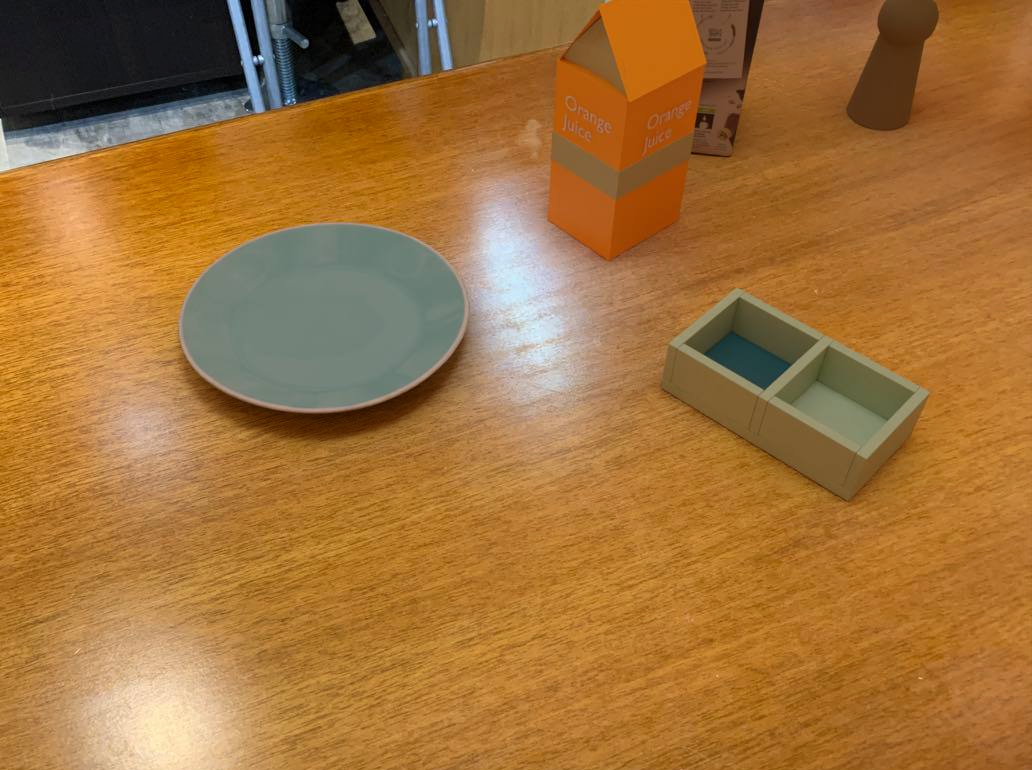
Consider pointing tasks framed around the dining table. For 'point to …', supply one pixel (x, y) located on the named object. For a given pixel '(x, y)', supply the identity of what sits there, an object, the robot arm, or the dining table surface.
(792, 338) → the tray
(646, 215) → the orange juice
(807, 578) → the dining table surface
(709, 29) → the coffee box
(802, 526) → the dining table surface
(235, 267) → the plate
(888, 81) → the brown pawn
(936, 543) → the dining table surface
